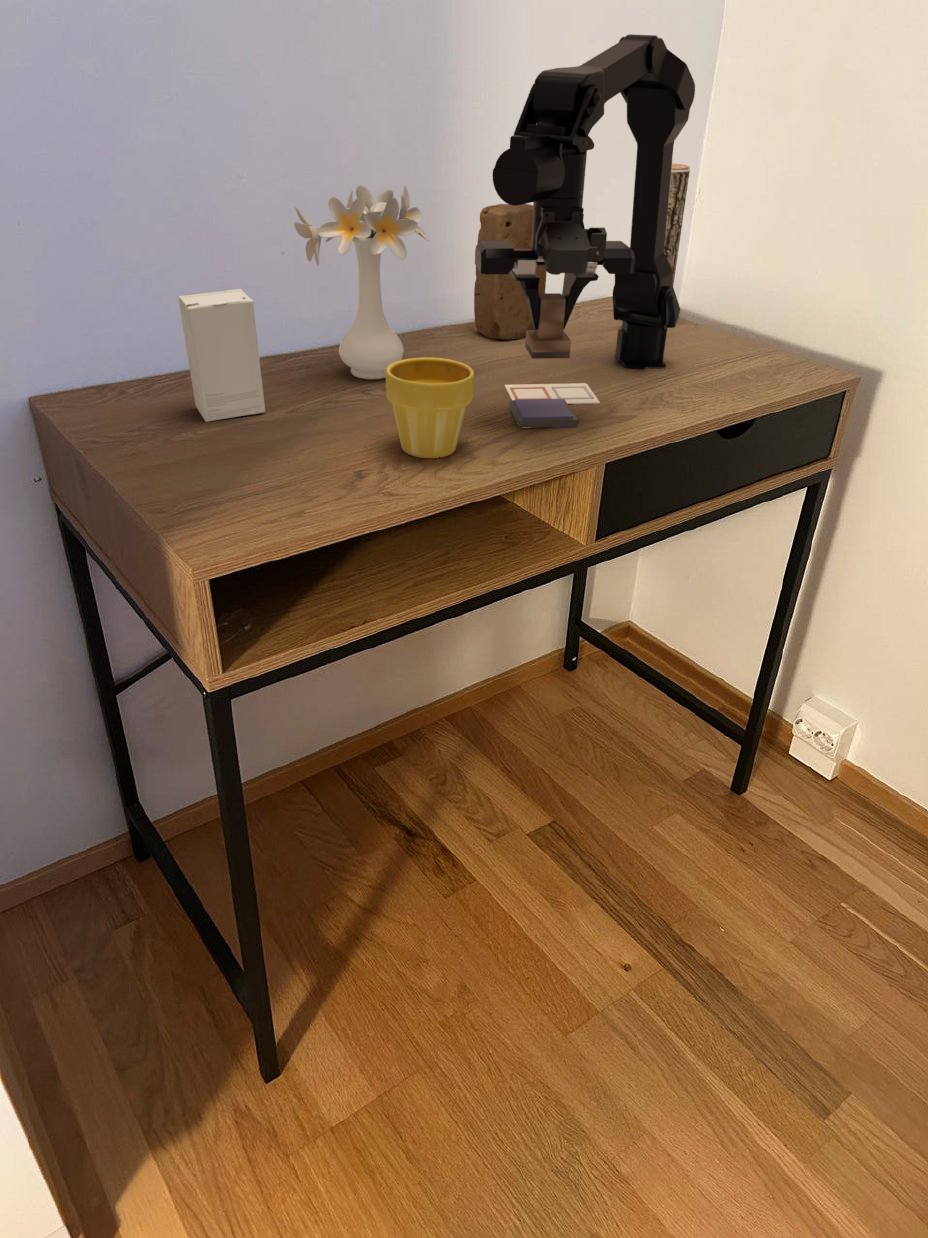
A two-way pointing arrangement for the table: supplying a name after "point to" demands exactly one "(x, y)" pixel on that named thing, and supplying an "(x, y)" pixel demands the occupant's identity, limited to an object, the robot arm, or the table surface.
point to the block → (504, 275)
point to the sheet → (554, 392)
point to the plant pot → (429, 403)
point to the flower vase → (367, 270)
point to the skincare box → (223, 353)
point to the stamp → (549, 329)
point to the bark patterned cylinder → (675, 212)
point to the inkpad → (542, 413)
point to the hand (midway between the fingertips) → (548, 328)
